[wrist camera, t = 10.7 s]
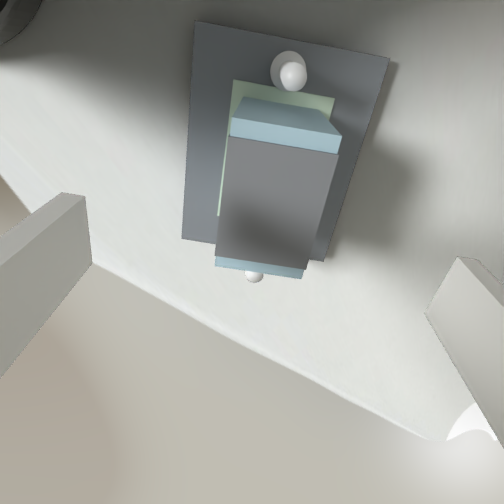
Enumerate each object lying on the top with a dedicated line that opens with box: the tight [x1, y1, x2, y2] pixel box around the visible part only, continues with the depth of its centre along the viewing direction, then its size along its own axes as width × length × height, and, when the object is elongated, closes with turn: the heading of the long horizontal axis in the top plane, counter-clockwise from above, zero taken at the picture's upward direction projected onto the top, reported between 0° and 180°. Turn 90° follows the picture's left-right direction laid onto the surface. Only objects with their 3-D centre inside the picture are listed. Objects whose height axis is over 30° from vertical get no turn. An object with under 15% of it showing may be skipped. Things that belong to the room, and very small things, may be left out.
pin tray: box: [182, 21, 390, 283], centre depth 22 cm, size 12×15×7 cm
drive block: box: [215, 97, 342, 279], centre depth 20 cm, size 5×8×8 cm, turn 171°
